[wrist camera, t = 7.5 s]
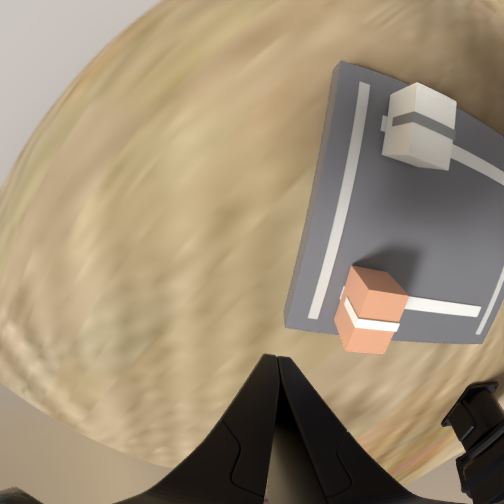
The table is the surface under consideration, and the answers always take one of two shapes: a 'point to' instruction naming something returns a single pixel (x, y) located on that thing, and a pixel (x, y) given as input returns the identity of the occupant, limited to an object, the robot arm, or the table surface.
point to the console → (401, 220)
